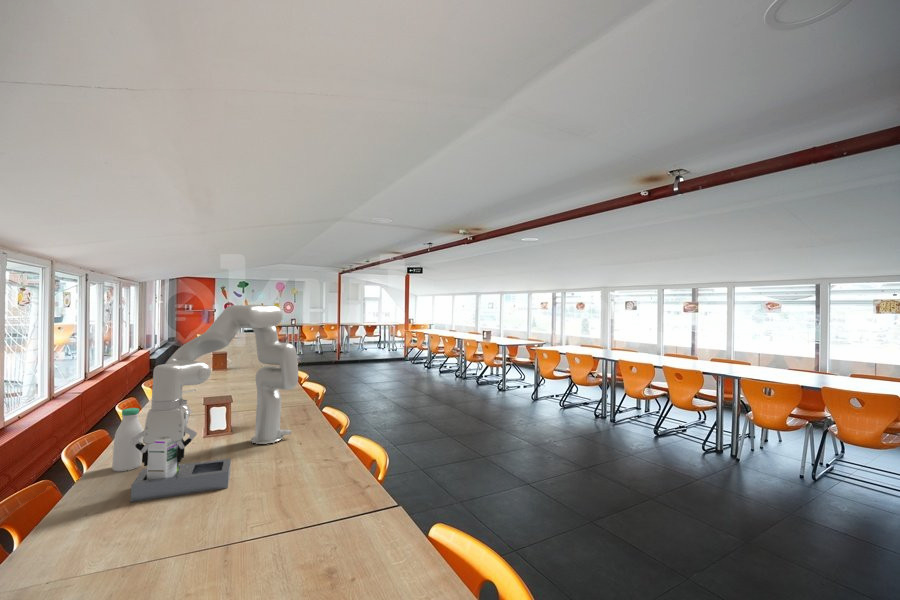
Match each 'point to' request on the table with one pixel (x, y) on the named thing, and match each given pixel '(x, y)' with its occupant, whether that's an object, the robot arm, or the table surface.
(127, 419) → the milk bottle
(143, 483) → the slotted tray
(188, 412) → the cup with straw
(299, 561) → the table surface
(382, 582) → the table surface
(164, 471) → the syrup box
